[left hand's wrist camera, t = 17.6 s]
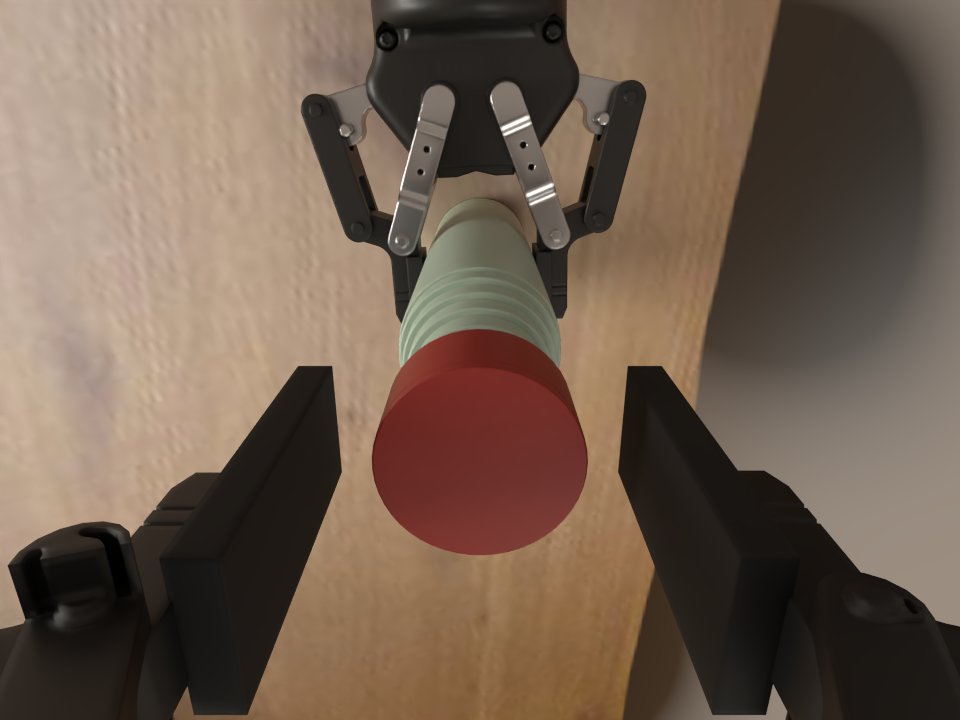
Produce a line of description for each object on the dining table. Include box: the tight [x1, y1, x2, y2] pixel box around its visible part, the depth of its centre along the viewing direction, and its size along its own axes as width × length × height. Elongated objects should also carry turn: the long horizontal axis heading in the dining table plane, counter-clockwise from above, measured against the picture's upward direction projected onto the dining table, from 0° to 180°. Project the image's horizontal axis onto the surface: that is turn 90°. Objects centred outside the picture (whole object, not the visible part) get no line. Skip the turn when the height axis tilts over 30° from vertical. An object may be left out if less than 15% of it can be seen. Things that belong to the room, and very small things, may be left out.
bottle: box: [399, 198, 561, 369], centre depth 24 cm, size 5×5×23 cm
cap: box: [372, 329, 588, 555], centre depth 14 cm, size 4×4×2 cm
